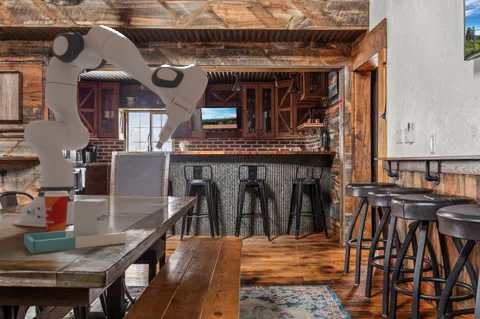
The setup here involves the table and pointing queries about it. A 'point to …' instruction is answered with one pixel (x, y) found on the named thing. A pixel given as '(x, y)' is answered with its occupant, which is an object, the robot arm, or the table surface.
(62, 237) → the push lane
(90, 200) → the supplement box
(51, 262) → the table surface
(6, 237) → the table surface
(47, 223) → the paper cup
